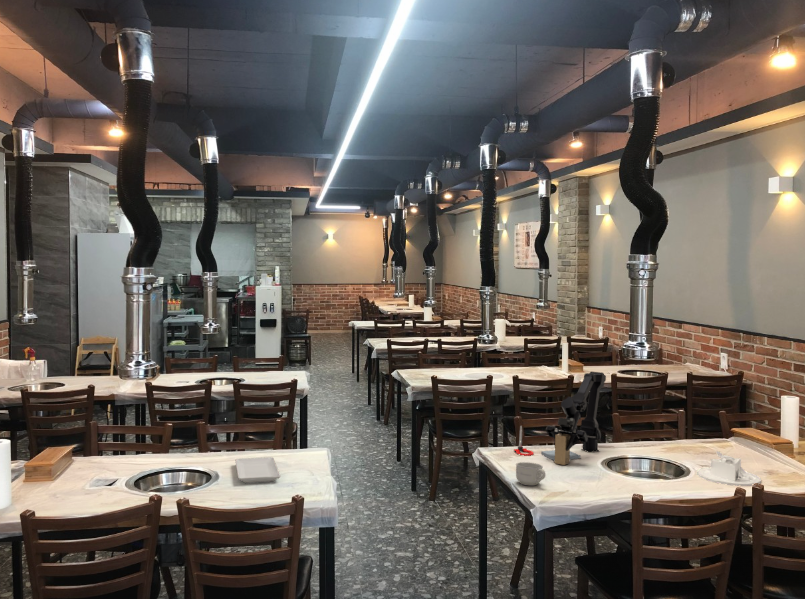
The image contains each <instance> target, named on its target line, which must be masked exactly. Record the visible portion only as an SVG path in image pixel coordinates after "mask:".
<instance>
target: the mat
mask: <svg viewBox="0 0 805 599" xmlns="http://www.w3.org/2000/svg"><path fill="white" fill-rule="evenodd" d="M540 454H541V455H542V456H543V455H544V456H543V457H545V458H548V459H549V460H552V461H554V462H555V449H553V450H542V451H540ZM578 458H580V459H581V455H580V454H578V453H577V452H573V451H571V450H570V460H579V459H578Z"/></svg>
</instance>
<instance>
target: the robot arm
mask: <svg viewBox="0 0 805 599" xmlns="http://www.w3.org/2000/svg"><path fill="white" fill-rule="evenodd" d="M583 375H584V376H583V380H582V382H581V384H580V386H579V387H578V391H577V392H576V394H573V395H572V397H571V396H567V397H566V398H565V399H563V400H562V401H561V403H560V406H561V408H562V410H563V412H564V414H565V415H566V417H565V418H564V417H558V421H557V425H558V426H559V429H558V428H557V427H556V426H554V425H547V426H546V428H545V431H546V433H547V435H548V437H550V438H553V439H554V440H555V435H556V434H559V433H563V434H569V435H570V440H569V442H568V445H567V448H566V450H567V451H568V450H569V449H570V450H571V448H573V447H574V446H575V445H577V444H580V442H581V443H582V448H583V450H582V451H585V450H586V451H585V452H587V451H588V452H587V453H593V452H592V451H597V452H600V451H599V450H600V449H598V447H599V446H598V445H599V441H600V440H601V437H602V433H601V431H600V429H599V423H598V421H597V414H598V413H597V412H598V407H599V400H600V392H601V390H602V388H604V386H605V383H606V380H607V377H606V374H605V373H604V372H602V371H589V372H585V373H584V374H583ZM587 398H588V402H587ZM585 410H586V416H585V417H584V419H582V417H581V413H580V412H585ZM581 419H582V420H581ZM579 420H581V424H580V427H579V429H578V426H577V425H578V422H579Z"/></svg>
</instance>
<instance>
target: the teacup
mask: <svg viewBox="0 0 805 599" xmlns="http://www.w3.org/2000/svg"><path fill="white" fill-rule="evenodd" d="M515 465H516V466H515V477H516V479H517V481H518V482H519V483H520V484H521V485H523V486H536V485H538V484H539V483H541V482H542V481H543V480H544V479H545V478H546V471H545V469H543V465H542V464H540V463H534V462H529V461H528V462H525V461H521V462H516V464H515Z"/></svg>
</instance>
